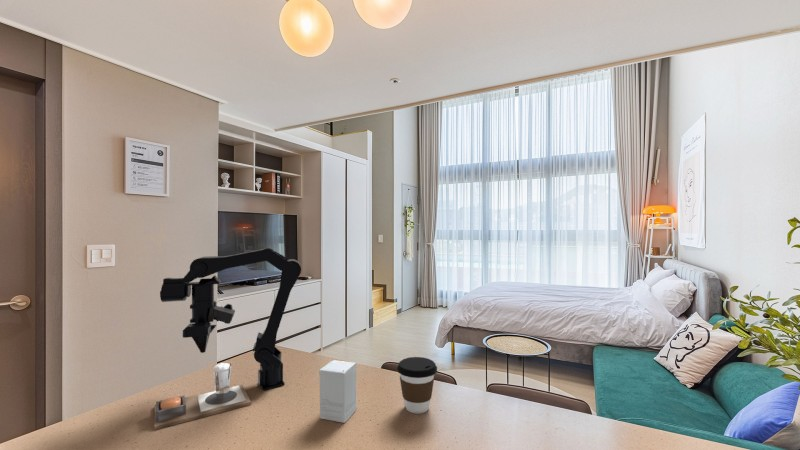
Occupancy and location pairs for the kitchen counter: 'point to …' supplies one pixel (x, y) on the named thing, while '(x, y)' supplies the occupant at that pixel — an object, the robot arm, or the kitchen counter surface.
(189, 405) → the board
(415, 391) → the coffee cup
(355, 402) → the supplement box
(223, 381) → the milkshake
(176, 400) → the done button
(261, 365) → the robot arm
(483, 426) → the kitchen counter surface
